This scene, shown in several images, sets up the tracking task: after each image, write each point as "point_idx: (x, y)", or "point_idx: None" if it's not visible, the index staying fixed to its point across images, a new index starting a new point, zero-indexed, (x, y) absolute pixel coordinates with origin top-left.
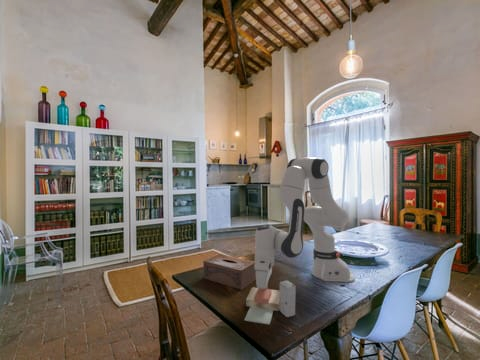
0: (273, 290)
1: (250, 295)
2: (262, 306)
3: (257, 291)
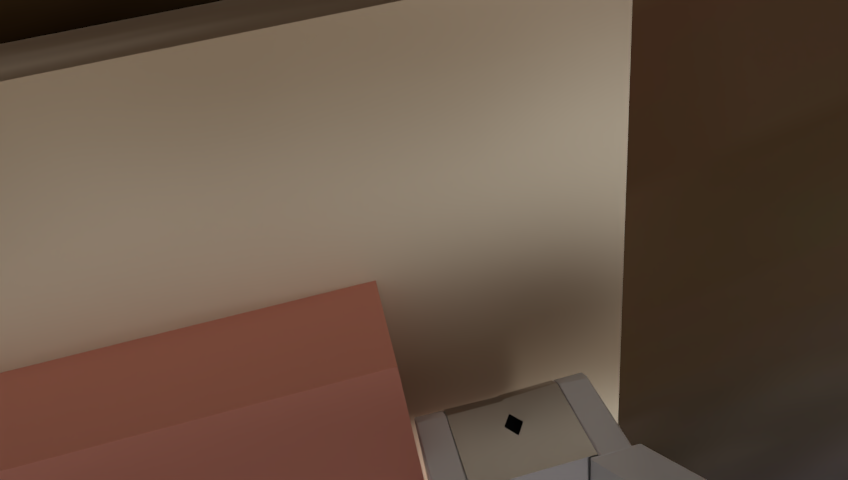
0: None
1: (29, 168)
2: None
3: (134, 452)
